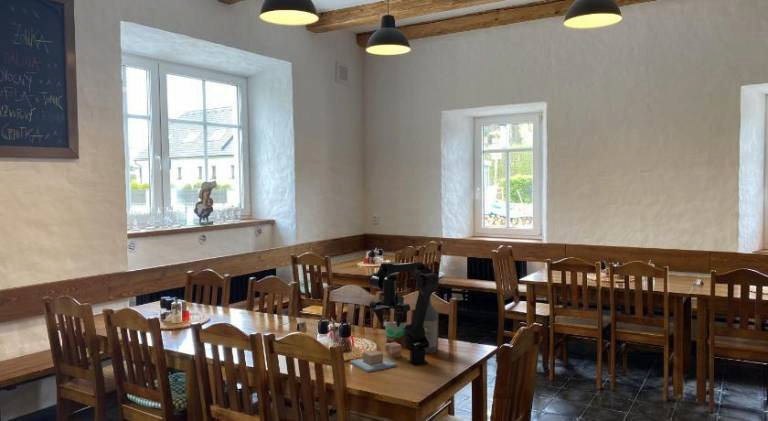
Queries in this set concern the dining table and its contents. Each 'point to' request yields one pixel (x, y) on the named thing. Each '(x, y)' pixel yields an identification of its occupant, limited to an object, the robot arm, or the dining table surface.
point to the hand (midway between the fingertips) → (390, 325)
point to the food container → (395, 332)
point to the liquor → (431, 328)
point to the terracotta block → (393, 350)
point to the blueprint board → (368, 369)
